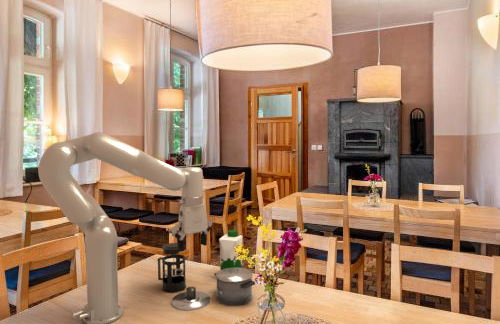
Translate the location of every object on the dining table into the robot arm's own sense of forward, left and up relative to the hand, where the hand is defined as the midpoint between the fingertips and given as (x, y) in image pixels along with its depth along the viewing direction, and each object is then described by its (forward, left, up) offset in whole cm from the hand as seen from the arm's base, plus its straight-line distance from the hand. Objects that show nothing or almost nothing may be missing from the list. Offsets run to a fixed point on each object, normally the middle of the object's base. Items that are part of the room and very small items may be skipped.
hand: (192, 247), depth 131 cm
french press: (0, +14, -20) cm, 24 cm away
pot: (+11, -10, -19) cm, 24 cm away
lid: (-2, -1, -20) cm, 20 cm away
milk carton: (+22, +4, -20) cm, 30 cm away
